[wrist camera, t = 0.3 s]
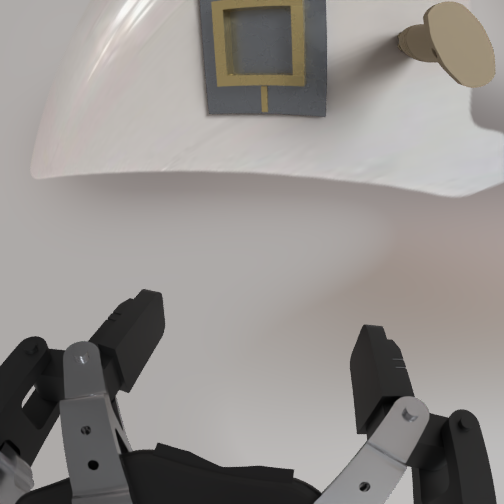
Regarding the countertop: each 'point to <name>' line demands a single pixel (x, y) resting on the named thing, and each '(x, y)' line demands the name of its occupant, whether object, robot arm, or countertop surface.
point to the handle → (452, 44)
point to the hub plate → (265, 56)
